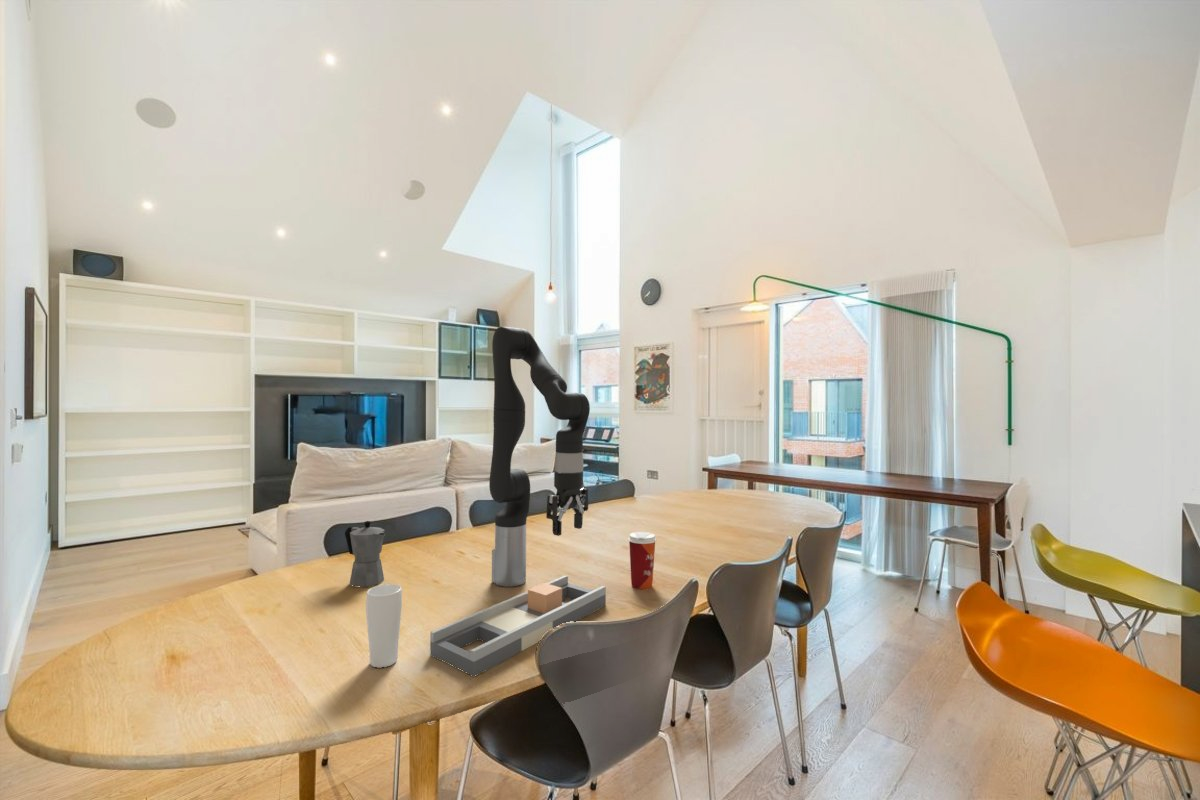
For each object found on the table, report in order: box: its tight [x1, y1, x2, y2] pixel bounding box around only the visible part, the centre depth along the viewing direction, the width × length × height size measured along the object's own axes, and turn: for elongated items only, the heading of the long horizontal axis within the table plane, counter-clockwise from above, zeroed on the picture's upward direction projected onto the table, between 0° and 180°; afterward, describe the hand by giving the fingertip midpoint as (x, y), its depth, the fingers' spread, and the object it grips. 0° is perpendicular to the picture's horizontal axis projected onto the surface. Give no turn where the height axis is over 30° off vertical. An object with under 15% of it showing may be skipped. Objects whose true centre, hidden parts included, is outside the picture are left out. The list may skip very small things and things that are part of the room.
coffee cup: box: [627, 531, 657, 591], centre depth 150 cm, size 8×8×15 cm
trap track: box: [429, 575, 607, 677], centre depth 122 cm, size 44×14×5 cm, turn 144°
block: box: [527, 582, 563, 614], centre depth 127 cm, size 6×6×4 cm
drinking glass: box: [365, 583, 403, 669], centre depth 106 cm, size 7×7×15 cm
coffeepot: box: [344, 520, 386, 588], centre depth 152 cm, size 15×9×18 cm, turn 67°
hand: (567, 531), depth 134 cm, fingers open, 8 cm apart
